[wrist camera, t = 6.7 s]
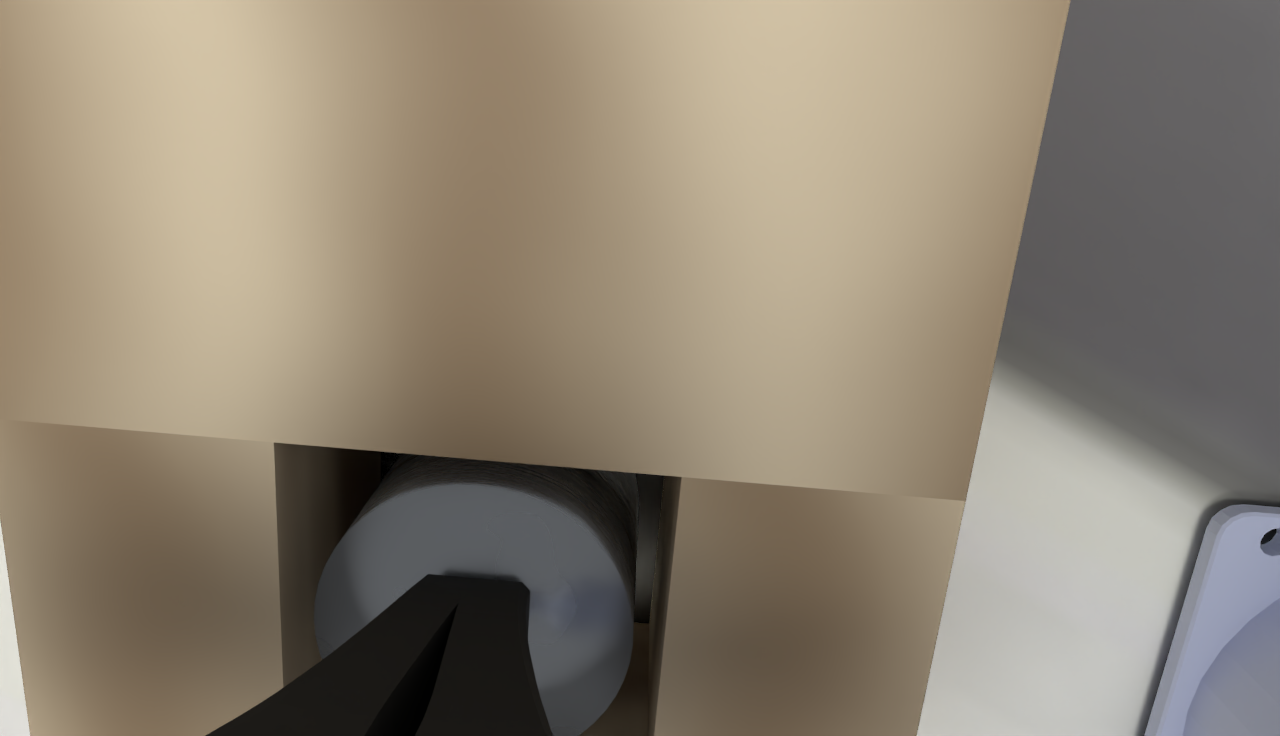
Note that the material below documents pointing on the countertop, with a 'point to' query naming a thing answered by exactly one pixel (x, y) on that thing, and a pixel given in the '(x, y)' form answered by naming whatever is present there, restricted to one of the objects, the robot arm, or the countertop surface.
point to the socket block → (503, 323)
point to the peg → (503, 564)
